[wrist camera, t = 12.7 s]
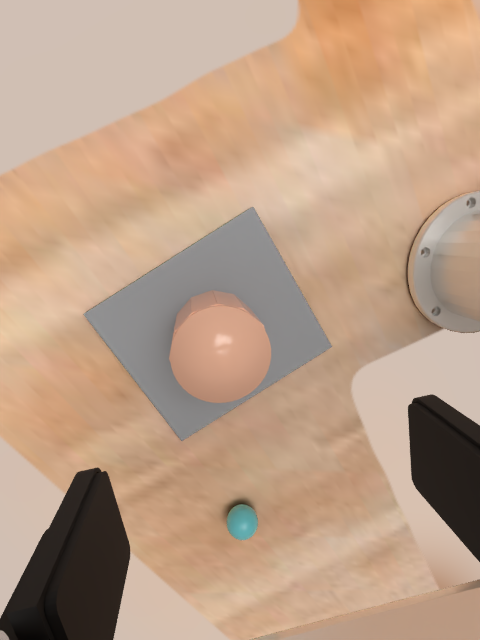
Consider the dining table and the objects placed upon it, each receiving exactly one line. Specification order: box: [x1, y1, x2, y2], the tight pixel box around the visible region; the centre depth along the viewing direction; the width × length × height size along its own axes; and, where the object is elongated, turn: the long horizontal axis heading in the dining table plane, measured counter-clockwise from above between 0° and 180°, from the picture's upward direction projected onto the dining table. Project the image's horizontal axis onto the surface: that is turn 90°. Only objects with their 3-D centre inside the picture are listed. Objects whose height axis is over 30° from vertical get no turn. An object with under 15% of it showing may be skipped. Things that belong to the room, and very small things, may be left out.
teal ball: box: [227, 504, 258, 540], centre depth 34 cm, size 3×3×3 cm
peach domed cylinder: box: [169, 290, 271, 403], centre depth 27 cm, size 7×7×6 cm
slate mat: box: [84, 207, 332, 441], centre depth 30 cm, size 16×14×1 cm
